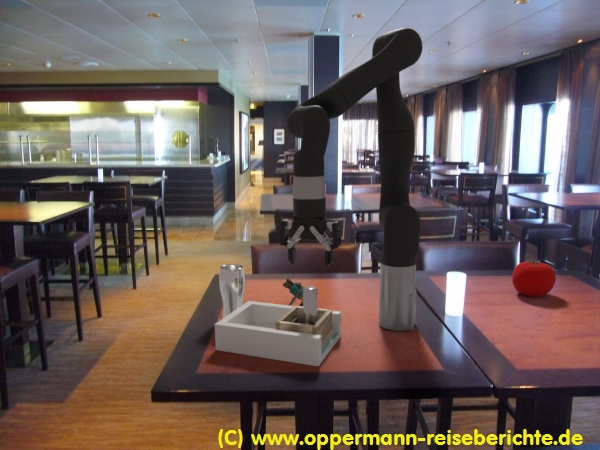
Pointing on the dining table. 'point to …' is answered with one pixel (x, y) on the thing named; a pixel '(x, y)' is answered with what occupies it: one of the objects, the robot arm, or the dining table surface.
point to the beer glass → (231, 287)
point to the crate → (295, 324)
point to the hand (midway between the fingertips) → (310, 264)
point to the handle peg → (310, 305)
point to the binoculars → (294, 290)
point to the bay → (272, 335)
